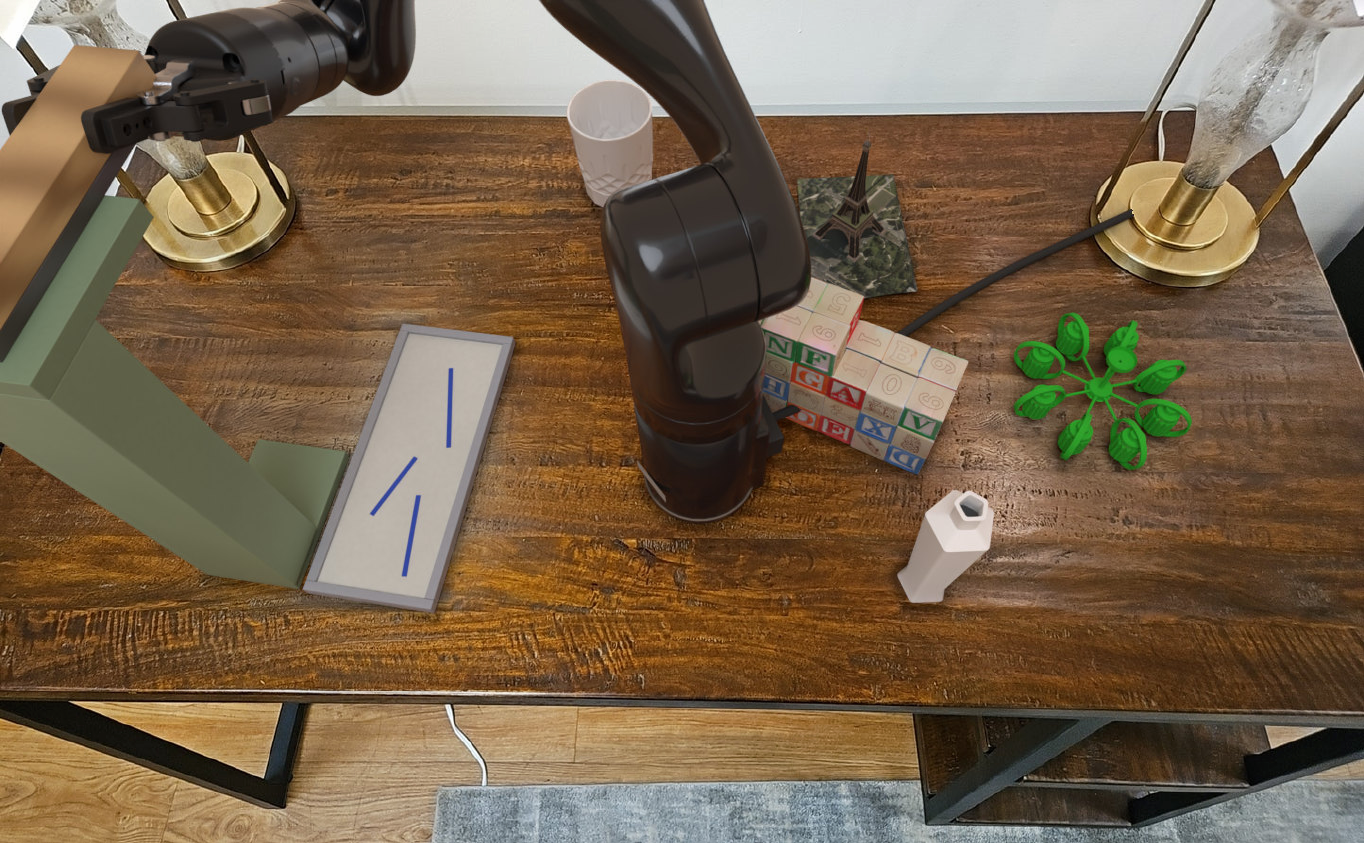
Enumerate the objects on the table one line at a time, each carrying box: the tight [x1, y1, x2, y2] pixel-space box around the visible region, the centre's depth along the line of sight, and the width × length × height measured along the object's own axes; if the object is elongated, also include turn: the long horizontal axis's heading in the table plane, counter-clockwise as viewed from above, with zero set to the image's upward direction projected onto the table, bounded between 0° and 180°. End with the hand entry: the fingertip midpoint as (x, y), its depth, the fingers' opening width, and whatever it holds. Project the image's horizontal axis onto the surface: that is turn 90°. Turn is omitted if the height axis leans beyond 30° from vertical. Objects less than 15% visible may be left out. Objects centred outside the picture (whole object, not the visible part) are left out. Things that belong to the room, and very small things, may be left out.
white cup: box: [566, 79, 654, 208], centre depth 86 cm, size 8×8×10 cm
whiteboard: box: [302, 323, 516, 614], centre depth 76 cm, size 26×11×1 cm, turn 171°
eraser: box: [0, 44, 157, 362], centre depth 47 cm, size 19×4×3 cm, turn 171°
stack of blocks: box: [758, 277, 969, 476], centre depth 73 cm, size 21×6×12 cm, turn 62°
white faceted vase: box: [897, 489, 995, 604], centre depth 63 cm, size 5×4×15 cm
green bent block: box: [0, 194, 351, 590], centre depth 60 cm, size 12×8×32 cm, turn 171°
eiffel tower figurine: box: [796, 131, 919, 299], centre depth 80 cm, size 15×10×13 cm
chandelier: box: [1013, 312, 1193, 471], centre depth 74 cm, size 15×15×7 cm
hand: (53, 129), depth 47 cm, fingers closed on eraser, 4 cm apart
